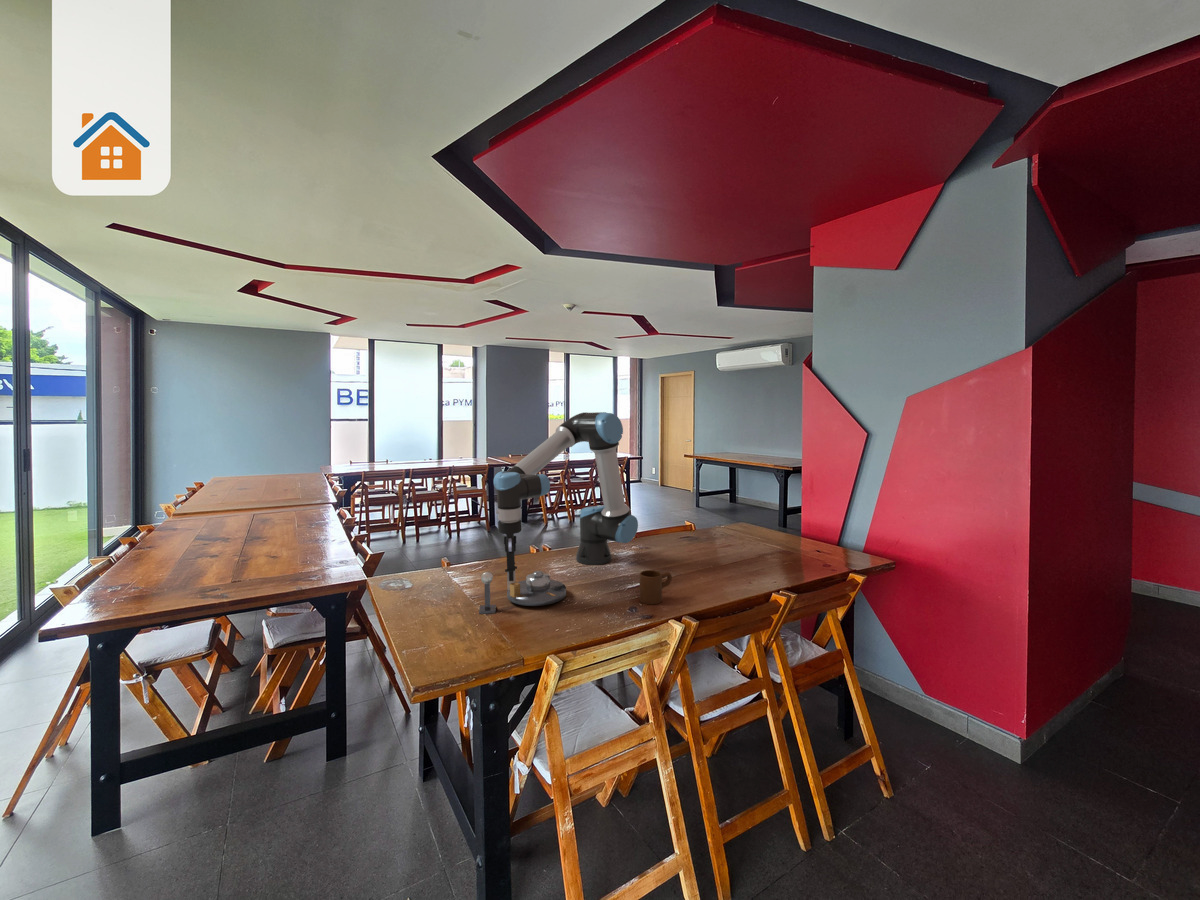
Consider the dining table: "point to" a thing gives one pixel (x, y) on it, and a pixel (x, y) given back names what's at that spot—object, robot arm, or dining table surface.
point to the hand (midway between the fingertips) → (511, 589)
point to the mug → (652, 586)
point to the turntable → (536, 594)
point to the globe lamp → (487, 594)
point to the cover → (538, 581)
